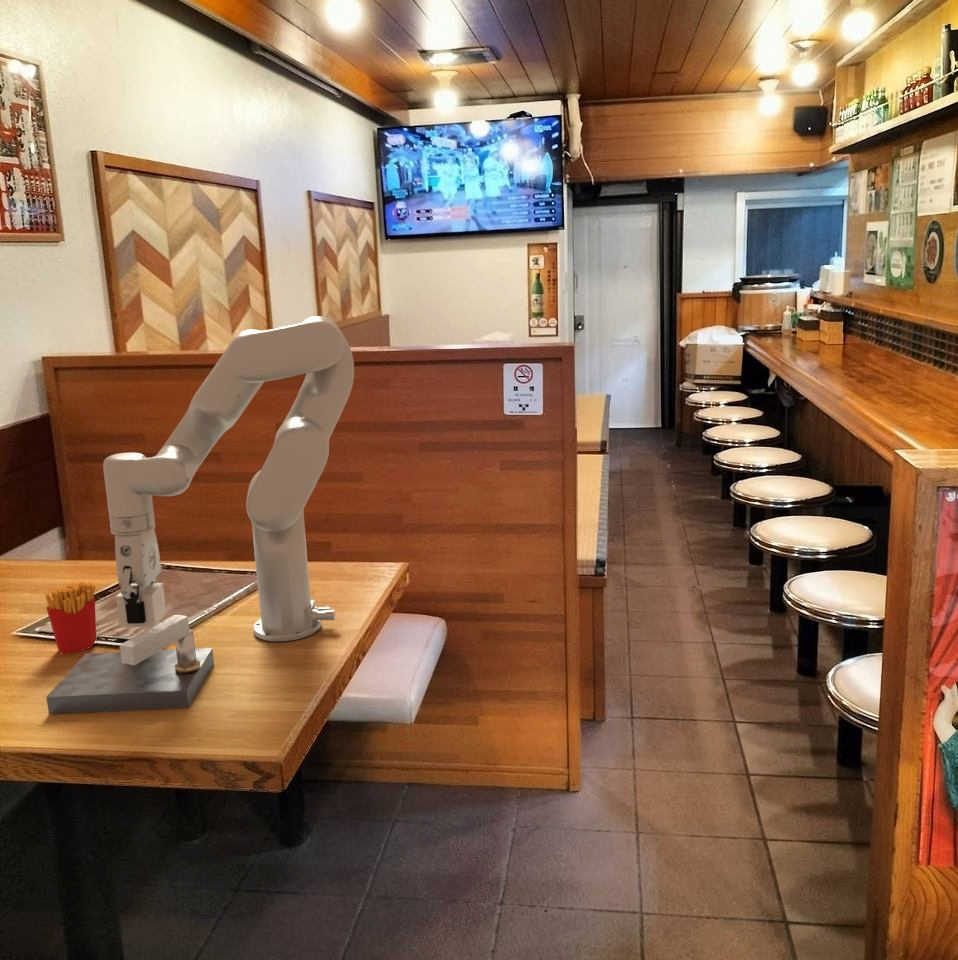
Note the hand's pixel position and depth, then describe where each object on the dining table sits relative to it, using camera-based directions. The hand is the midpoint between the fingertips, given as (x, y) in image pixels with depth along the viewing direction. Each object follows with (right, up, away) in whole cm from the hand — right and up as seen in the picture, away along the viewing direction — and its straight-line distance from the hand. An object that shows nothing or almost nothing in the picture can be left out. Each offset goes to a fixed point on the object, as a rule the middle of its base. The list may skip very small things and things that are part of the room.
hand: (143, 614), depth 169 cm
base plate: (+5, -10, -16) cm, 19 cm away
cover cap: (0, -1, 0) cm, 1 cm away
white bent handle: (+11, -8, -21) cm, 25 cm away
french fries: (-12, -6, +1) cm, 14 cm away
